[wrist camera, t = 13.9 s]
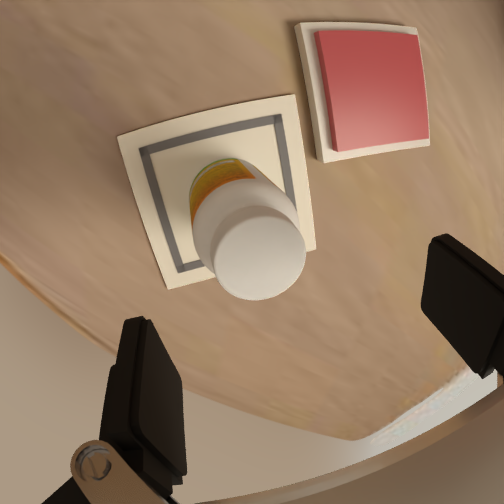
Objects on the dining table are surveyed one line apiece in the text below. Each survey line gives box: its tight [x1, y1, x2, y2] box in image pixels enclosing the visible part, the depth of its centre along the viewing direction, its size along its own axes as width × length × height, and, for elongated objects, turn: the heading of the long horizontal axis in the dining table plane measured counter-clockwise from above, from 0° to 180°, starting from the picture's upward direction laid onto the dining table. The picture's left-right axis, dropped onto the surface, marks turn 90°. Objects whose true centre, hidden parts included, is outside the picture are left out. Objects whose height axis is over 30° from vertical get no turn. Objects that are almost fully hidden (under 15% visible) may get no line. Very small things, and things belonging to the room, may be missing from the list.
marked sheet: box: [117, 94, 316, 290], centre depth 22 cm, size 12×12×1 cm
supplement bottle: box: [189, 158, 306, 300], centre depth 17 cm, size 5×5×10 cm
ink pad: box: [294, 22, 430, 163], centre depth 19 cm, size 10×10×2 cm
